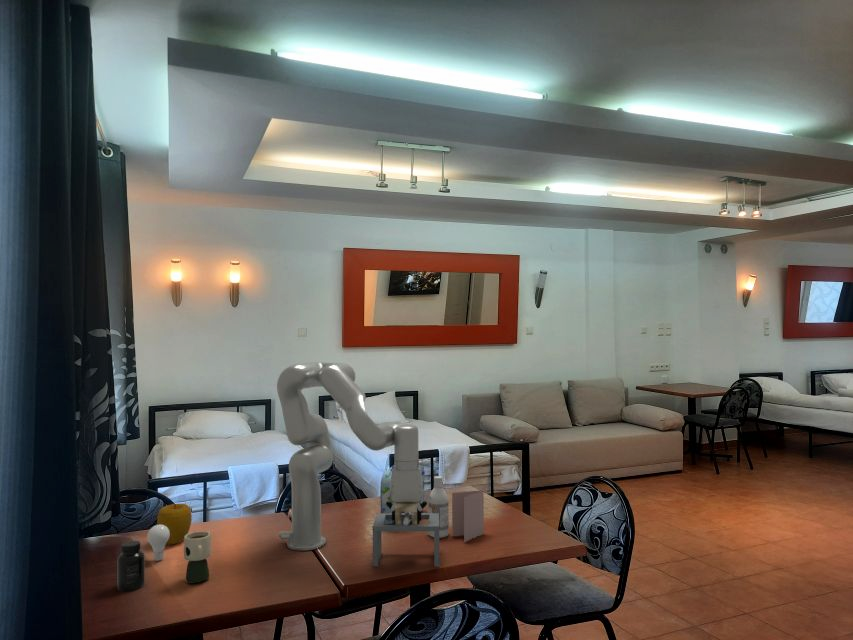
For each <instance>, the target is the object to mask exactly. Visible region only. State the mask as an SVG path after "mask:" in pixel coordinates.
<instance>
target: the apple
mask: <svg viewBox="0 0 853 640" xmlns="http://www.w3.org/2000/svg"><path fill="white" fill-rule="evenodd" d="M156 518H157V521H156V525H160V524H161V525H165V526H166V527H167V528H168V529H169V531H170V536H169V539H168V541H167V542H166V544H165V545H166V546H171V545H175V544H179V543H181V542H184V536H185V535H186V534H189V531H190V528H191V524H192V519H193V518H192V510H191V507H190V506H189V505H188V504H186V503H172V504H168V505H164V506H163V507H161V508H160V509H159V510H158V513H157V517H156Z"/></svg>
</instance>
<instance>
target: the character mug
mask: <svg viewBox="0 0 853 640" xmlns="http://www.w3.org/2000/svg"><path fill="white" fill-rule="evenodd" d="M211 536H212V535H211V532H209V531H206V530H197V531H193V532H188V534H186V535H185V536H184V540H183V559H185V561H187V562H188V563H187V565H186V570H185V571H186V574H185V582H186V583H188V584H197V583H198V584H199V583H200V582H203V581H205V580H208V579H209V578H210V572H209V570H210V569H209V562H208V560H207V559H208V558H209V557H211V553H212V552H211V548H212V545H211V542H212V541H211Z"/></svg>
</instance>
